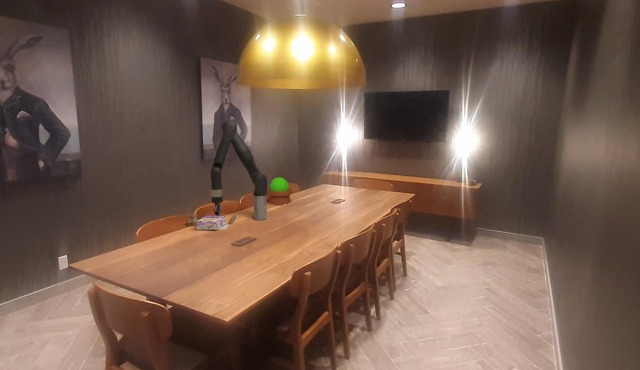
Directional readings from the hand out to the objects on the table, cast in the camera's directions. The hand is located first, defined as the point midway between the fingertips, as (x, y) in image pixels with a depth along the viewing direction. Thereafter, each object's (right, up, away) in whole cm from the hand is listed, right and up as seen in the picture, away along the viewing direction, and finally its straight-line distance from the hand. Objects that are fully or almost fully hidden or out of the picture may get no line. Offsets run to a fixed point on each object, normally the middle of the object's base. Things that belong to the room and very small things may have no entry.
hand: (218, 220), depth 249 cm
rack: (-1, -1, +5) cm, 5 cm away
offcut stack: (-15, -3, -4) cm, 16 cm away
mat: (+1, -4, -12) cm, 13 cm away
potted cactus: (+36, +7, +64) cm, 74 cm away
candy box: (0, +1, -4) cm, 4 cm away
